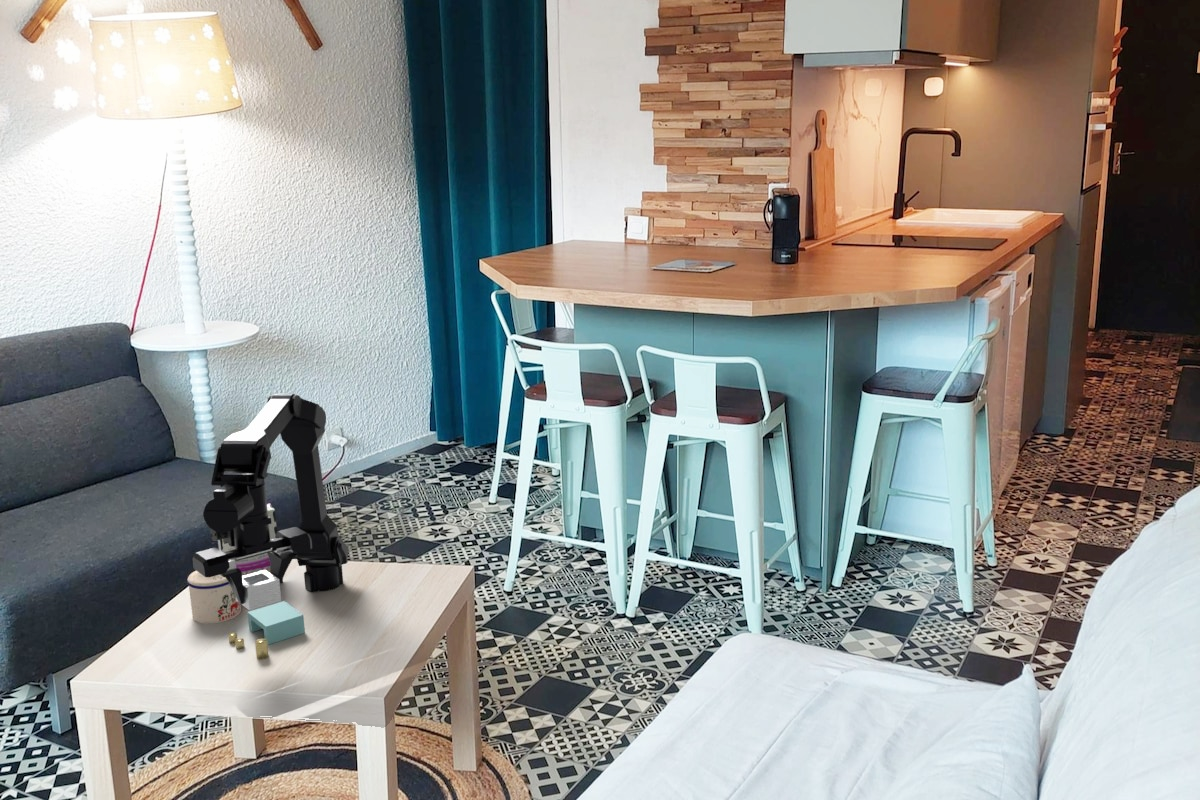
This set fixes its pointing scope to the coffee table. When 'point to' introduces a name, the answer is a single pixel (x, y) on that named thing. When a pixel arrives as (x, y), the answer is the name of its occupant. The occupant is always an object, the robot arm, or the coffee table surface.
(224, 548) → the candy bar box
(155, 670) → the coffee table surface
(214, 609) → the teacup with lid
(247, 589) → the hollow square metal block
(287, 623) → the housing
